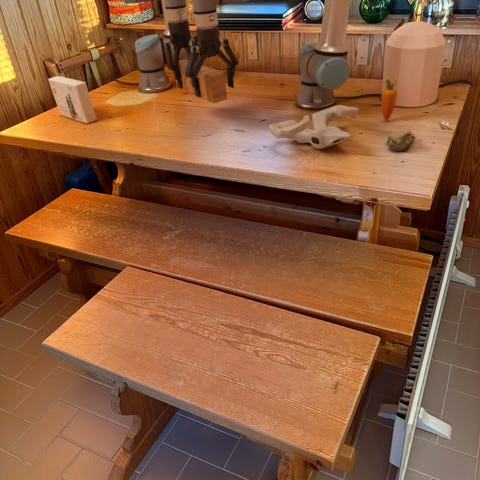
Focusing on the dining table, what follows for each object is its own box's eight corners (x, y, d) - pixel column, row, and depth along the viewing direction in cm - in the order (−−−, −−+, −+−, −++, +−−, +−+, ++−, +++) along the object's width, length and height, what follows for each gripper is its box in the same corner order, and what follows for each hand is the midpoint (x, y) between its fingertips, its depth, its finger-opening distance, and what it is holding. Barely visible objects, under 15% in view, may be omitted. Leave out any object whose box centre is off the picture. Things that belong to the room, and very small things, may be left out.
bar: (176, 86, 181) (172, 62, 176) (189, 83, 183) (185, 59, 178) (214, 103, 161) (210, 76, 156) (227, 99, 164) (224, 72, 158)
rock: (408, 140, 153) (379, 139, 152) (414, 122, 149) (384, 120, 148) (421, 154, 144) (391, 153, 143) (428, 135, 140) (396, 133, 139)
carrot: (394, 118, 167) (398, 76, 158) (393, 123, 163) (397, 80, 154) (379, 117, 168) (383, 75, 160) (378, 122, 165) (382, 80, 156)
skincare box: (58, 115, 201) (47, 78, 192) (69, 111, 204) (58, 75, 195) (86, 124, 189) (75, 85, 180) (97, 119, 192) (87, 81, 183)
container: (406, 111, 172) (416, 29, 156) (369, 96, 188) (375, 22, 172) (449, 99, 178) (463, 20, 162) (410, 86, 194) (419, 13, 178)
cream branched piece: (267, 156, 148) (265, 121, 142) (278, 128, 170) (277, 96, 163) (357, 157, 142) (360, 119, 136) (357, 127, 164) (359, 94, 157)
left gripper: (159, 26, 159) (170, 93, 173) (205, 17, 167) (212, 82, 180) (150, 24, 164) (161, 89, 178) (195, 15, 172) (203, 78, 186)
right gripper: (178, 35, 143) (189, 103, 155) (244, 20, 154) (249, 85, 166) (168, 33, 149) (179, 98, 161) (232, 18, 159) (238, 81, 171)
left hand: (187, 85), depth 179 cm, fingers closed on bar, 5 cm apart
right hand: (215, 91), depth 163 cm, fingers open, 13 cm apart
